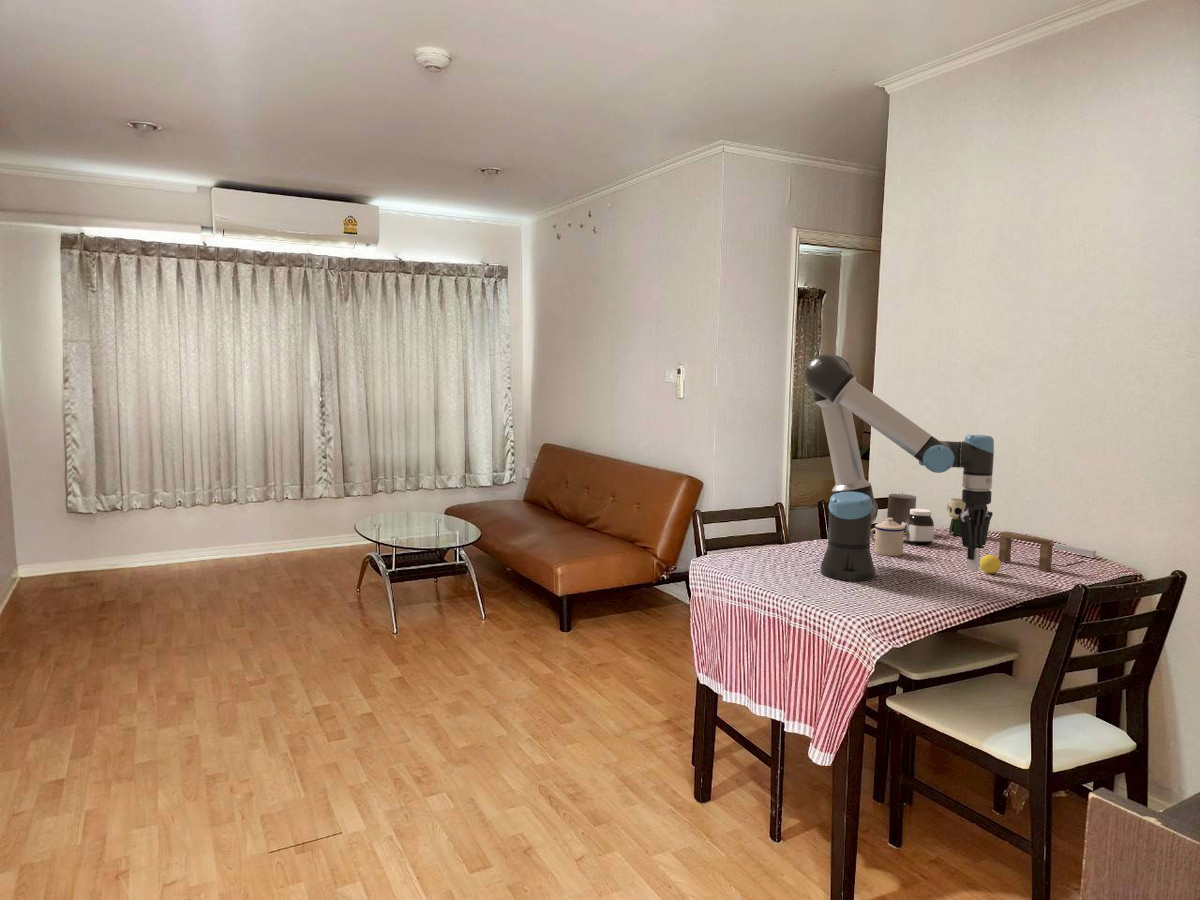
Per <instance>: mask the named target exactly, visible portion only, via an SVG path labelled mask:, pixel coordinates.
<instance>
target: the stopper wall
mask: <svg viewBox="0 0 1200 900" xmlns="http://www.w3.org/2000/svg"><path fill="white" fill-rule="evenodd" d="M1054 549H1057V550H1062V551H1069V552H1072V553H1076V554H1082V555H1085V556H1089V557H1092V558H1093V557H1097V556H1096V555H1097V550H1095V549H1094V550H1093V549H1089V548H1084V547H1079V546H1074V545H1070V544H1069V545H1067V544H1063V543H1053V550H1054Z"/></svg>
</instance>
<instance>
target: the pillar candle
mask: <svg viewBox="0 0 1200 900" xmlns="http://www.w3.org/2000/svg"><path fill="white" fill-rule="evenodd" d="M887 498H888V499H887V500H888V501H887V514H886V517H887V518H893V521H895V522H897V523H898V524H900V525H901V524H902V522H904V523H906V520H907V518H908V516H909V515H910V509H917V507H916V506H917V496H915V495H911V494H907V493H906V494H905V493H903V492H901V493H889V494H888V497H887ZM887 518H886V519H887ZM904 528H905V530H904V533H906V525H905V527H904Z"/></svg>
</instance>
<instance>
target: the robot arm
mask: <svg viewBox="0 0 1200 900" xmlns="http://www.w3.org/2000/svg"><path fill="white" fill-rule="evenodd" d="M852 371H853V370H852V367H851V366H850V364H849V363H848V362H847V361H846V359H844V358H843V357H841V356H840V355H839V356H838V355H835V354H819V355H817V356H815V357H813V358H812V359H810V361H808V363H807V364H806V367H805V370H804V380H805V382H806V385H807V386H808V388H810V389H811V391H812V394H813V399H814V403H815V404H816V405H818V406H819V407H820V409H821V415H822V419H823V424H824V430H825V435H826V440H827V447H828V450H829V457H830V461H831V466H832V470H833V471H832V472H833V476H834V482H835V485H834V486H833V488H832V489H831V493H832V495H831V496H830V498H829V503H828V528H827V529H828V533H827V535H828V536H827V548H826V550H825V553H824V556H823V558H822V561H821V563H820V574H821V575H823V576H825V577H828V578H831V579H836V580H840V581H841V580H843V581H854V582H855V581H858V582H859V581H861V582H863V581H871V580H872V579H875V578H876V567H875V565H874V560H873V557H872V554H871V538H870V533H871V530H872V528H871V527H872V525H873V523H874V522H875V521H876V519H877V517H878V512H879V507H878V503H877V500H876V499H875V497H874V492H873V486H872V483H871V482H870V481H869V480H867V479H866V478H865V474H864V472H865V471H864V468H863V462H862V459H861V458H862V457H861V453H860V448H859V447H860V446H859V442H858V438H857V437H858V436H857V432H856V426H855V422H854V416H853V414H854V415H856V416H857V417H858V418H859V419H861V420H863V422H865V423H867V424H868V425H869V426H871V427H872V428H873V429H875V430H876V431H877V432H879V433H880V434H882V435H883V436H884V437H886V438H887V439H889V440H890V441H891V442H893V443H894V444H895V445H897V446H898V447H900V448H901V449H902V450H904V451H905V452H906V453H908V454H910V455H911V456H912V457H913V458H915V459H916V460H917V461H918V464H919V465H920V466H923V467H925V468H926V469H927V470H928V471H930V472H932V473H937V474H940V473H944V472H945V473H946V472H947V471H948V470H950V469H951V468H956V469H957V468H958V469H960V468H962V469H963V470H962V471H963V473H962V485H961V486H962V488H963V489H962V491H961V493H962V494H961V499H962V501H963V502H965V504H966V505H965V509H964V513H963V514H962V515H961V514H959V515H958V518H959V521H960V525H961V535H962V536H961V535H960V536H961V542H962V543H961V544H962V546H963V547H964V548H967V553H966V554H967V556H966V559H967V564H966V570H967V571H971V572H979V570H980V557H981V549H984V548H985V545H986V544H987V538H988V533H989V530H990V529H989V528H990V523H991V519H992V517H993V512H992V511H989V510H988V509H989V508H988V505H989V504H991V503H992V493H993V492H992V491H991V489H992V488H993V471H994V459H995V458H994V457H995V456H994V455H995V451H994V450H995V443H994V442H995V440H994V438H993V437H992V436H991V435H986V434H967V435H965V436H964V440H963V441H949V440H939V439H937V438H936V437H934V436H933V435H932V434H930V433H929V432H927V431H926V430H924V429H923V428H921V427H920V426H919V425H918V424H916V423H915V422H913V421H912V420H911V419H909V418H908V417H906V416H905V415H903V414H902V413H900V412H899V411H898V410H896V409H895V408H894V407H892V406H891V405H889V404H888V403H887V402H886V401H884V400H882V399H881V398H880V397H878V396H877V395H876V394H874V393H872V392H871V391H870V390H869V389H867V388H865V387H864V386H863V385H861V384H860V383H858V382H857V377H856V376H855V375H854V374H853V372H852Z"/></svg>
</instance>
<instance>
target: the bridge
mask: <svg viewBox="0 0 1200 900" xmlns="http://www.w3.org/2000/svg"><path fill="white" fill-rule="evenodd" d="M1012 540H1017V541H1024V542H1028V543H1034V544H1039V545H1040V546H1039V547H1040V548H1039V553H1040V559H1039V561H1038V562H1039V563H1038V571H1040V570H1041V571H1042V572H1049V571H1052V564H1051V563H1052V554H1053V550H1054V540H1053V539H1049V538H1043V537H1037V536H1031V535H1026V534H1021V533H1018V532H1017V533H1016V532H1012V531H1011V532H1010V531H1000V533H999V548H998V551H999V552H998V559H999V560H1000V561H1003V562H1002V563H1004V562H1005V563H1007V562H1006V561H1010V562H1011V556H1012V555H1011V554H1012V553H1011V552H1012V543H1013V542H1012Z"/></svg>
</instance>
